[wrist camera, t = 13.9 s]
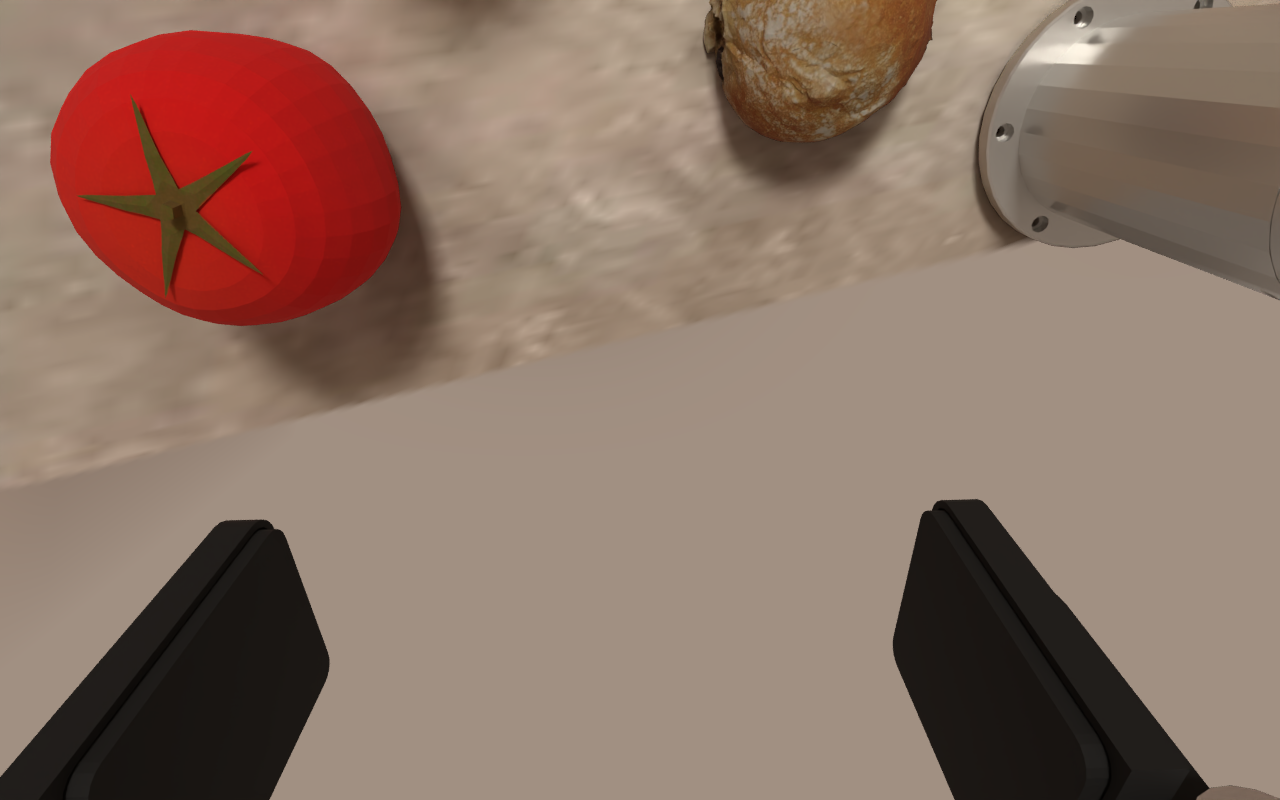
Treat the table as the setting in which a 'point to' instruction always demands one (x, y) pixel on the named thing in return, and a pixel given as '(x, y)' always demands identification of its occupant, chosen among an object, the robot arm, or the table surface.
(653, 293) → the table surface
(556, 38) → the table surface
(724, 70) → the bread roll
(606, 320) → the table surface
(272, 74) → the tomato
